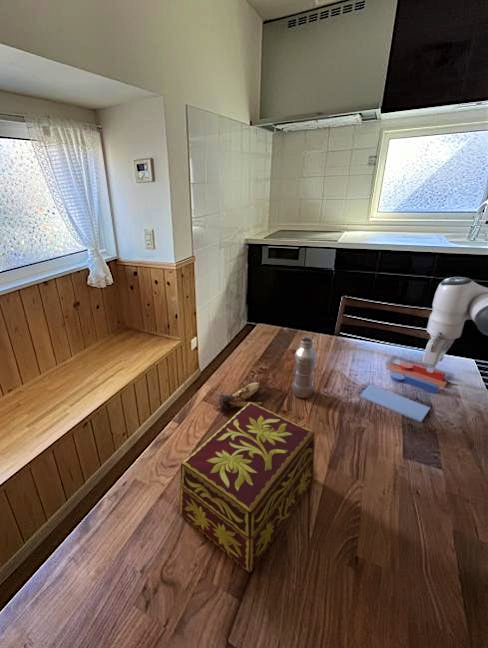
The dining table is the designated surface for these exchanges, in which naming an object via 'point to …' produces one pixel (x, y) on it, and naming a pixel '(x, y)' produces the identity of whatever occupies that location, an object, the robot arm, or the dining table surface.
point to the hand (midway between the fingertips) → (434, 365)
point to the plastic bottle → (304, 368)
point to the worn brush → (238, 398)
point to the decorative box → (247, 481)
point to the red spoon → (422, 370)
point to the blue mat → (395, 403)
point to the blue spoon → (415, 382)
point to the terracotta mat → (417, 375)
